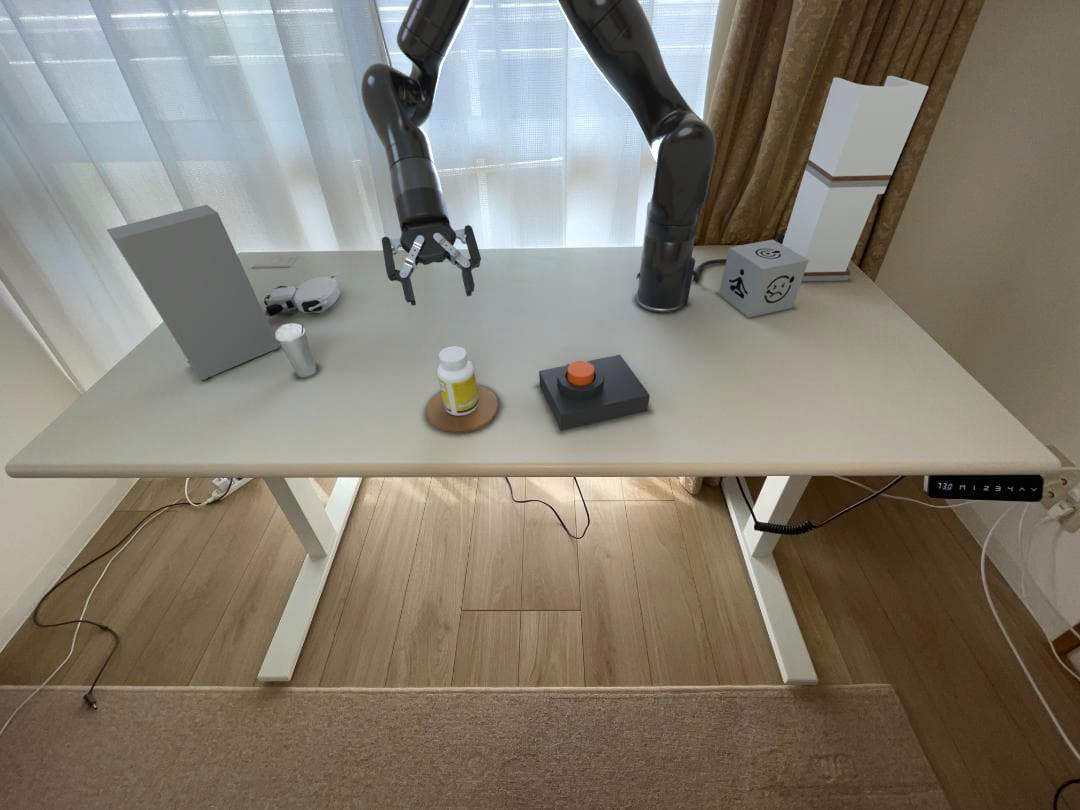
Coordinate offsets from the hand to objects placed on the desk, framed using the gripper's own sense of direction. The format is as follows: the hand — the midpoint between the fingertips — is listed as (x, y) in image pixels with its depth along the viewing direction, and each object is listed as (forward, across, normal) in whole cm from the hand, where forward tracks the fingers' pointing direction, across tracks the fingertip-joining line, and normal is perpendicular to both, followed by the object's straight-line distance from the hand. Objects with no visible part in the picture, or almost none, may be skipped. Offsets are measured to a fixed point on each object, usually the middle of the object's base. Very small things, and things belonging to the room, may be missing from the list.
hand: (441, 299), depth 75 cm
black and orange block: (+20, +20, 0) cm, 28 cm away
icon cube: (+7, +62, +13) cm, 63 cm away
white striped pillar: (+2, +82, +19) cm, 84 cm away
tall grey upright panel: (-2, -37, +22) cm, 43 cm away
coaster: (+17, 0, +3) cm, 17 cm away
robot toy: (-13, -26, +33) cm, 44 cm away
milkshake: (+4, -24, +16) cm, 29 cm away
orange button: (+17, +18, -3) cm, 24 cm away
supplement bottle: (+16, 0, +3) cm, 17 cm away
